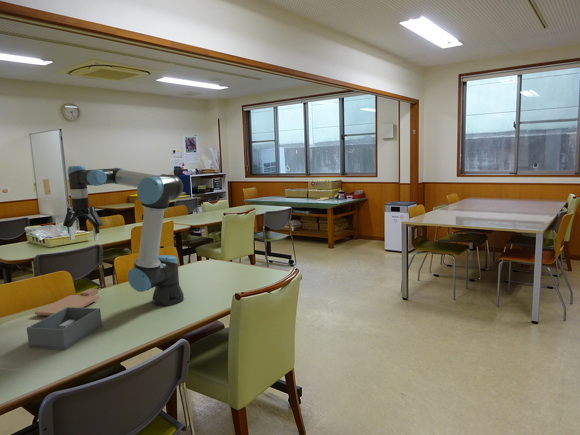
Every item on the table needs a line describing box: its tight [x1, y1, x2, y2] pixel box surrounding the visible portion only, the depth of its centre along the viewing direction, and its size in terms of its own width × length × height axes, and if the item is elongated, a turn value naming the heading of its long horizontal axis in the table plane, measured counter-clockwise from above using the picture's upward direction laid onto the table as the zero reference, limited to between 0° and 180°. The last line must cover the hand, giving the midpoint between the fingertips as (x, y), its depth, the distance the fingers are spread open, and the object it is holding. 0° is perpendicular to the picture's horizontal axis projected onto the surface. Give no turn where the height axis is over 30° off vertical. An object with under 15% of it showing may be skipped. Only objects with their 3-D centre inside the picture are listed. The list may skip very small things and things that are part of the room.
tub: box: [26, 307, 103, 351], centre depth 169 cm, size 16×22×8 cm
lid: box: [34, 288, 100, 317], centre depth 204 cm, size 17×30×4 cm, turn 168°
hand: (84, 240), depth 206 cm, fingers open, 13 cm apart
